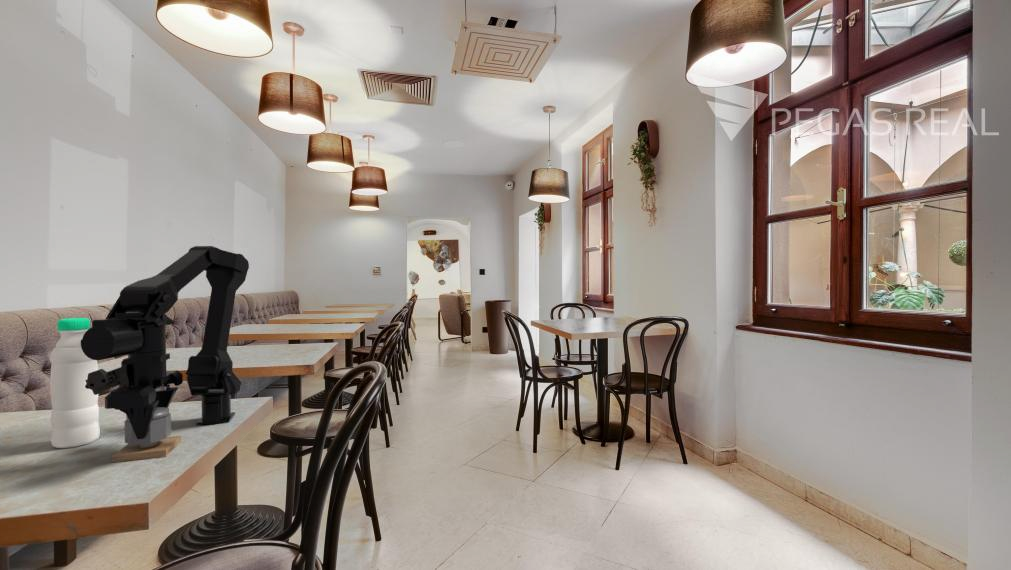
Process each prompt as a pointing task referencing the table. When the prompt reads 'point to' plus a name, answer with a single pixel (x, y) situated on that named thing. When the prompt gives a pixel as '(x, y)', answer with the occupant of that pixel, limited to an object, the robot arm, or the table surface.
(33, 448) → the table surface
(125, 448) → the stud block
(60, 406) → the water bottle
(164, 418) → the cap
